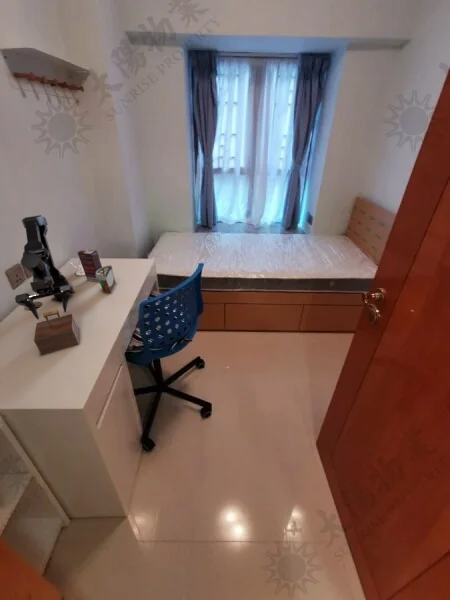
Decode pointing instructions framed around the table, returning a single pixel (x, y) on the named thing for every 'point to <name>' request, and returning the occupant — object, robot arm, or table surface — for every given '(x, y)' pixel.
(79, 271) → the shell
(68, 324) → the brown wooden lid
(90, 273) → the supplement box
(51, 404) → the table surface
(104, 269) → the food container
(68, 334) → the caddy
